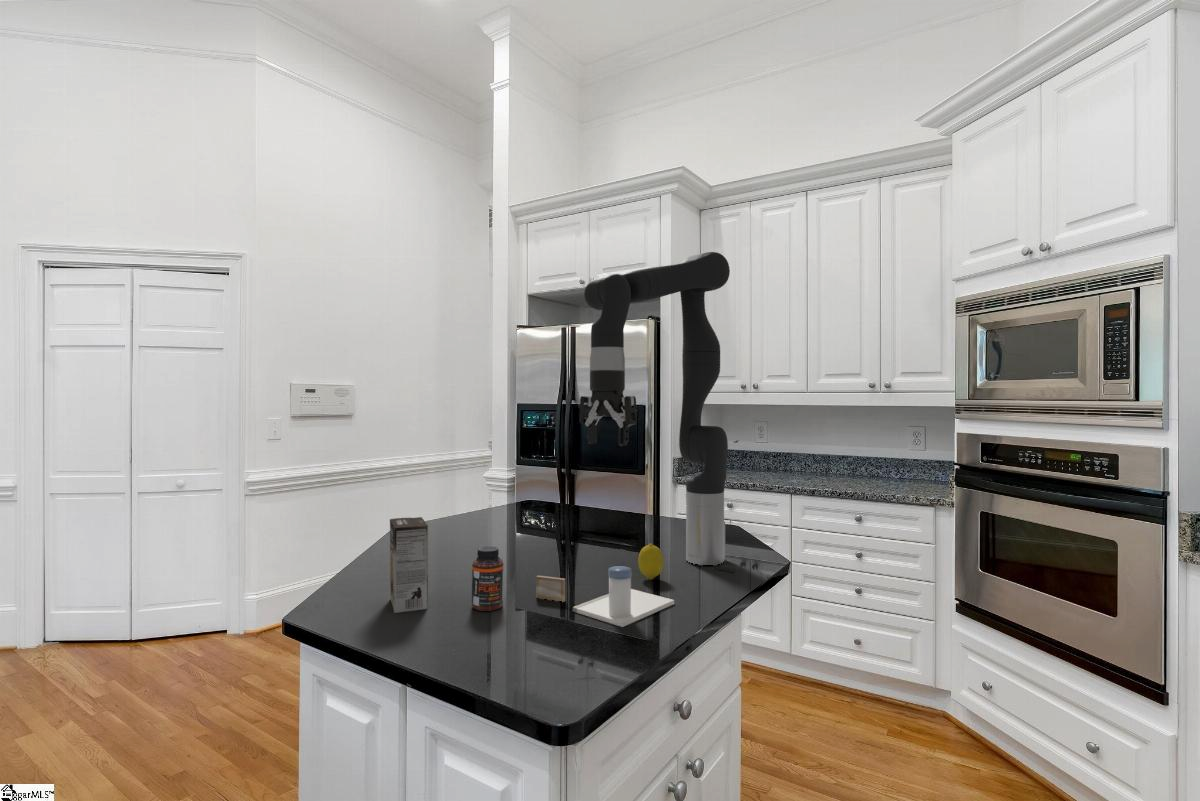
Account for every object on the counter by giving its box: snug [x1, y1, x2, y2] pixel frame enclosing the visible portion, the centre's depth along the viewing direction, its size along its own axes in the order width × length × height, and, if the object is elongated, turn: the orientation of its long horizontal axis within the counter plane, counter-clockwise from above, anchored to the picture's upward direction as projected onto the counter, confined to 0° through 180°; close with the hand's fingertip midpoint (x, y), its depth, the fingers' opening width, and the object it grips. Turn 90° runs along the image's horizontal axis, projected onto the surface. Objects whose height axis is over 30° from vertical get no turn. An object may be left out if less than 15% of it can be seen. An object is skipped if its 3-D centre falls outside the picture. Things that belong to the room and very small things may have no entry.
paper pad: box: [572, 588, 675, 628], centre depth 119 cm, size 16×12×1 cm
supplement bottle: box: [471, 545, 504, 612], centre depth 119 cm, size 6×6×11 cm
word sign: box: [535, 575, 566, 603], centre depth 123 cm, size 1×6×4 cm, turn 69°
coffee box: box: [389, 516, 429, 614], centre depth 121 cm, size 9×6×16 cm
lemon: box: [637, 543, 664, 581], centre depth 137 cm, size 6×6×8 cm
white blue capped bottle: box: [608, 565, 633, 618], centre depth 113 cm, size 4×4×8 cm
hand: (607, 444), depth 133 cm, fingers open, 8 cm apart
